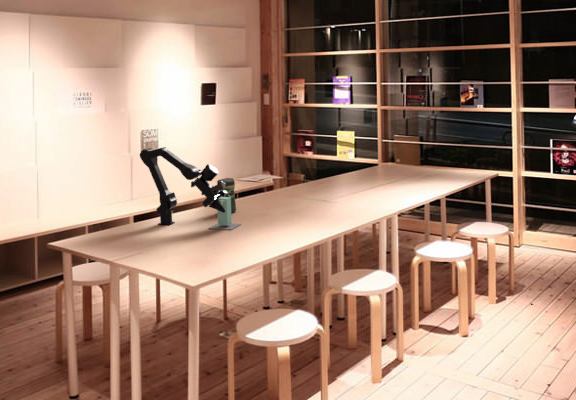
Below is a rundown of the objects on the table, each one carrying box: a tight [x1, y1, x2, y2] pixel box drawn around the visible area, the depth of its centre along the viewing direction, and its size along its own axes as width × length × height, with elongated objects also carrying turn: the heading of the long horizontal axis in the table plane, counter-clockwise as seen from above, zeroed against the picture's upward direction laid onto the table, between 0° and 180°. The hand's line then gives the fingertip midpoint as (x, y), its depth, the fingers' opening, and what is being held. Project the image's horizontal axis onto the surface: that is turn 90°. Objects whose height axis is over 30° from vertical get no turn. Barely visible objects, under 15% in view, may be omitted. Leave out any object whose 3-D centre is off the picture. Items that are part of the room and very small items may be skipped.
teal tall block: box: [217, 197, 233, 226], centre depth 342 cm, size 5×5×13 cm
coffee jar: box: [216, 177, 237, 214], centre depth 377 cm, size 10×8×19 cm
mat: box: [208, 223, 242, 231], centre depth 343 cm, size 12×12×1 cm
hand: (226, 210), depth 342 cm, fingers closed on teal tall block, 5 cm apart
